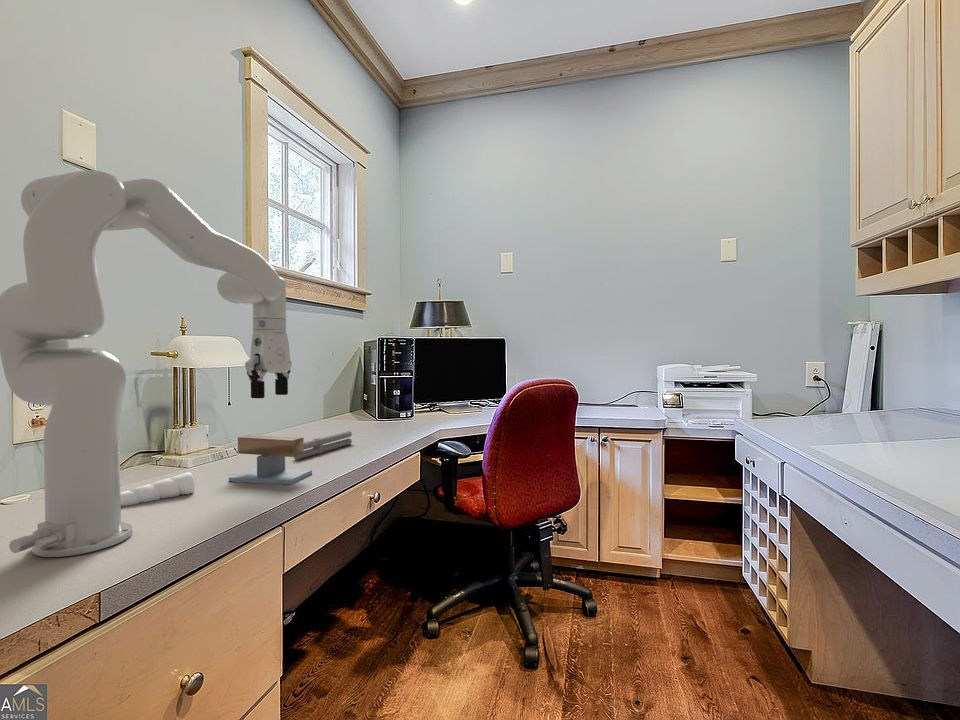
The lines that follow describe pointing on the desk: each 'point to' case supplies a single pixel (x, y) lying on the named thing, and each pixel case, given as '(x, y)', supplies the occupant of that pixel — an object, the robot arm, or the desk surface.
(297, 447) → the walnut bar
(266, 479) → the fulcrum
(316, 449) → the metal rod assembly
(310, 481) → the desk surface
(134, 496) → the unicorn horn
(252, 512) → the desk surface
